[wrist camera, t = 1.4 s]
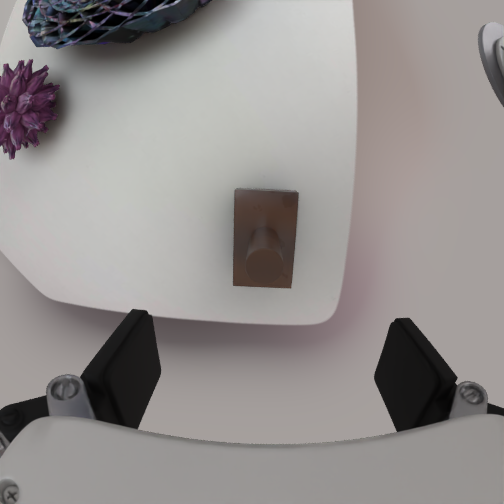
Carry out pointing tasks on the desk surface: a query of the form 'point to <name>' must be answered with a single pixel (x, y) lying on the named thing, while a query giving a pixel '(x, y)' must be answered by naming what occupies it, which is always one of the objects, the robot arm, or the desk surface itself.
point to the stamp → (264, 237)
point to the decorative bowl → (101, 19)
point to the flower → (24, 106)
